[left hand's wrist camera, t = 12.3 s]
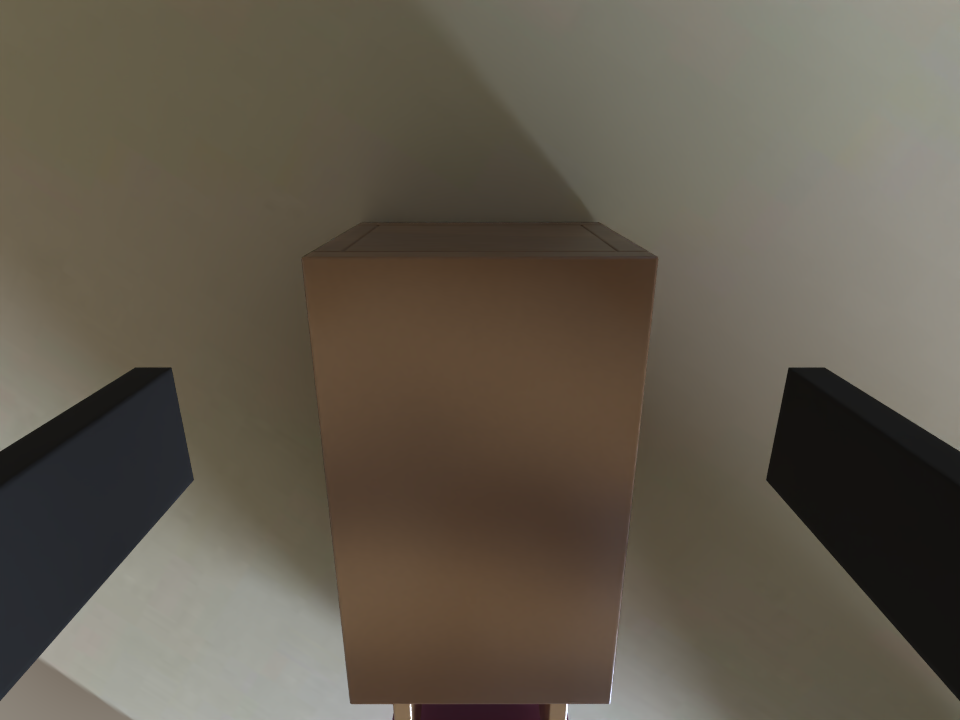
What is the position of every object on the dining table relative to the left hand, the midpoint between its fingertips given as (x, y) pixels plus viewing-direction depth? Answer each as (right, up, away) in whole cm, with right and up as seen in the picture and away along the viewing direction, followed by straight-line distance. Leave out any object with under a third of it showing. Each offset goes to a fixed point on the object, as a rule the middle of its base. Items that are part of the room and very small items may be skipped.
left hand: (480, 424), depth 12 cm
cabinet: (0, -1, +16) cm, 16 cm away
